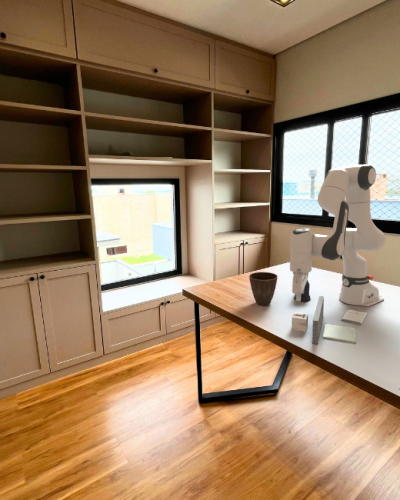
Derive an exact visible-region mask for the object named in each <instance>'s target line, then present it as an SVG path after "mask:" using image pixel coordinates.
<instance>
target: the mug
mask: <svg viewBox="0 0 400 500" xmlns="http://www.w3.org/2000/svg"><path fill="white" fill-rule="evenodd" d="M310 288H311V287H310V282H309V279H308V280H307V282H306V284H305V287H304V293H303V294H301V301H298V302H299V303H300V302H301V303H309V302H310V301H312V299H311V296H310ZM293 300H294V301H296V295H295V294H293Z"/></svg>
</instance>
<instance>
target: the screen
mask: <svg viewBox="0 0 400 500" xmlns="http://www.w3.org/2000/svg"><path fill="white" fill-rule="evenodd" d="M324 302H325V296H322V295H319V296H318V301H317V304H316V306H315V307H316V308H315V311H314V315H313V319H312V337H311V338H312V339H311V340H312V341H311V342H312V345H313V344H314V345H318V344H319V340H320V334H321V330H322V324H323V320H324V308H325V307H324V305H325V303H324Z"/></svg>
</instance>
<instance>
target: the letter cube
mask: <svg viewBox="0 0 400 500" xmlns="http://www.w3.org/2000/svg"><path fill="white" fill-rule="evenodd" d="M308 321H309V313H305V312H298V311H297V312H296V311H294V312H293V314H292V316H291V330H293V331H298V332H304V333H306V332H307V330H308V327H309V322H308Z"/></svg>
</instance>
